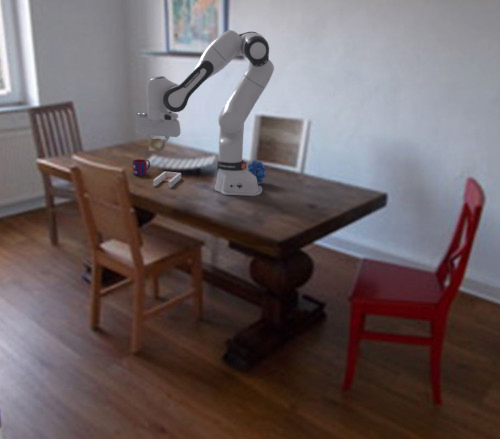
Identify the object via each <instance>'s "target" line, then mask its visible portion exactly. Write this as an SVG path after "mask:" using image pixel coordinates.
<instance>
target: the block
mask: <svg viewBox="0 0 500 439" xmlns="http://www.w3.org/2000/svg"><path fill="white" fill-rule="evenodd" d="M165 140H166V139H165V137H155V136H154V137H153V138H151V140H149V141H148V151H150V152H151V151H152V152H161V151H163V150H165V149H166V146H163V141H165Z"/></svg>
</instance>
